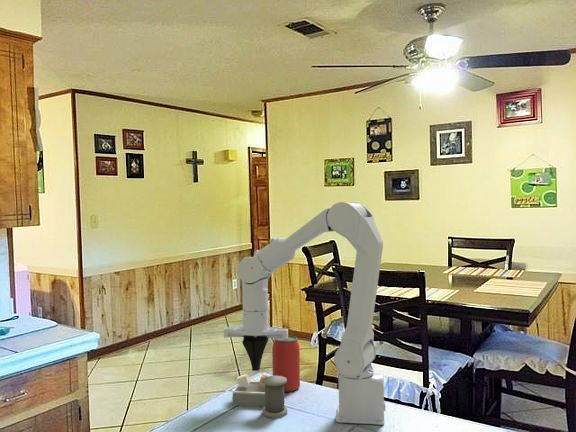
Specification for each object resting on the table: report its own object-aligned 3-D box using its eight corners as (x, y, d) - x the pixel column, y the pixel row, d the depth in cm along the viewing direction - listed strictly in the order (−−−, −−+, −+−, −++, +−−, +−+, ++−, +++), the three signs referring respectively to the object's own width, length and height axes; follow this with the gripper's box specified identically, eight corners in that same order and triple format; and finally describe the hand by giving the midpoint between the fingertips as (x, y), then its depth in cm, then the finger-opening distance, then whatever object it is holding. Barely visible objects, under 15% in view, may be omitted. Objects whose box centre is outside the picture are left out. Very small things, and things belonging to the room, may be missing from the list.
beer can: (267, 390, 117) (267, 339, 117) (280, 381, 123) (280, 333, 123) (292, 394, 114) (291, 342, 114) (304, 385, 120) (304, 336, 120)
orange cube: (269, 385, 112) (271, 377, 112) (267, 388, 110) (270, 380, 110) (260, 382, 112) (262, 374, 112) (258, 385, 111) (261, 376, 110)
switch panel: (275, 393, 115) (275, 381, 115) (268, 406, 107) (268, 393, 107) (241, 391, 116) (241, 380, 116) (232, 404, 108) (232, 392, 108)
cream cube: (250, 382, 112) (247, 373, 113) (248, 384, 111) (245, 376, 111) (241, 384, 113) (238, 376, 113) (239, 387, 111) (236, 378, 111)
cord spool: (289, 408, 106) (288, 376, 106) (285, 418, 101) (284, 384, 101) (265, 407, 107) (264, 375, 107) (260, 417, 102) (259, 383, 101)
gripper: (289, 306, 114) (290, 365, 114) (229, 305, 116) (230, 362, 116) (284, 312, 107) (285, 375, 107) (220, 311, 109) (221, 372, 110)
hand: (256, 369), depth 111 cm, fingers closed
